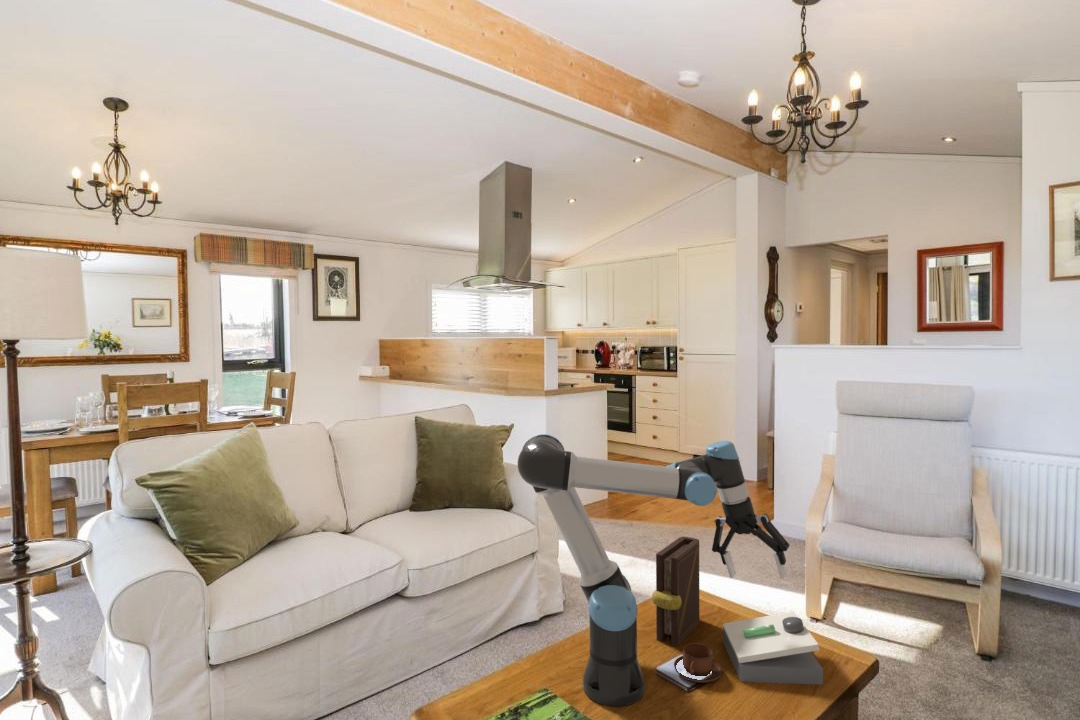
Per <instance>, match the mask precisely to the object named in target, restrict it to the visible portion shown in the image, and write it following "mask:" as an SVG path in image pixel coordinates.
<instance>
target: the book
mask: <svg viewBox="0 0 1080 720" xmlns="http://www.w3.org/2000/svg"><path fill="white" fill-rule="evenodd" d="M655 572H656V573H655V575H656V576H655V580H656V581H655V588H656V589H655V590H654V591H652V595H651V596H652V597H651V600H652V603H653V604H654V605H655V607H656V608H655V609H656V610H655V611H656V613H655V616H656V617H655V618H656V628H655V629H656V631H655V633H656V641H658V642H660V643H661V642H664V640H666V638H667V637H669V635H670V637H671V638H670V639H671V646H674V647H678V646H679V645H680V644H681V643H682V642H683V641H684V640H685V638H686V637H688V635H689V634H690V633H691V632H692V631H693V630H694V629H695V628H696V627H697V625H698V624H699V623H700V539H698V538H695V537H689V536H680V537H678V538H676V539H675V540H674V541H672V542H670V543H669V544H668V545H666V547H664V548H662V549H661V550H659V551H658V552H657V553H656V554H655Z"/></svg>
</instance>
